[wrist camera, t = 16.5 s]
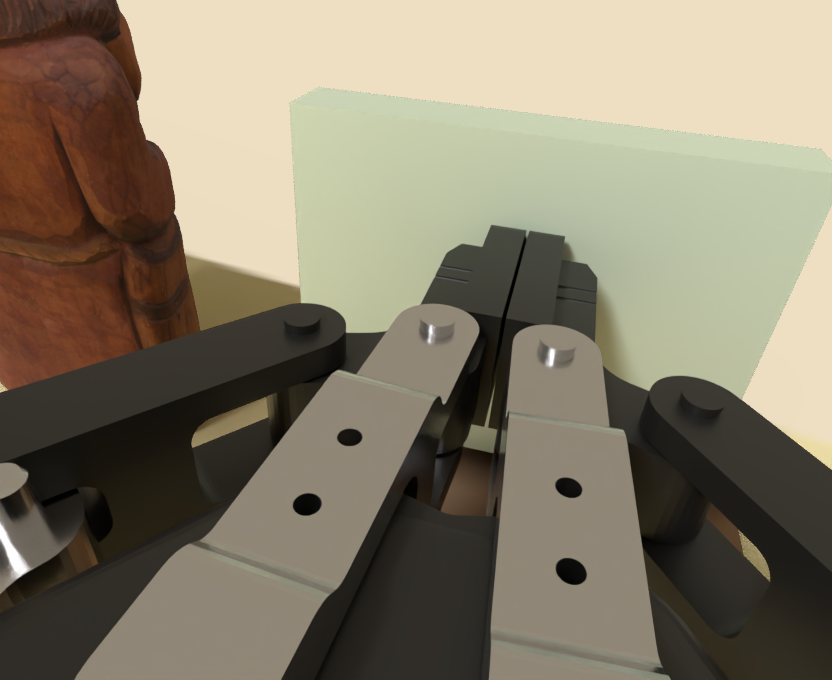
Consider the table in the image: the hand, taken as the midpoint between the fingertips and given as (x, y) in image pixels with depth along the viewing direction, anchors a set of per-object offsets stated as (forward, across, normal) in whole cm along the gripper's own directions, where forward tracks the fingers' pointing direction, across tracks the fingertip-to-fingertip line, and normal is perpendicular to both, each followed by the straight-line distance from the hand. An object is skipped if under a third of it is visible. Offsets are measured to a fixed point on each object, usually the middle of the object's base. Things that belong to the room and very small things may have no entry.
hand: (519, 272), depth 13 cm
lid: (+7, 0, +5) cm, 8 cm away
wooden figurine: (+7, +18, +13) cm, 23 cm away
